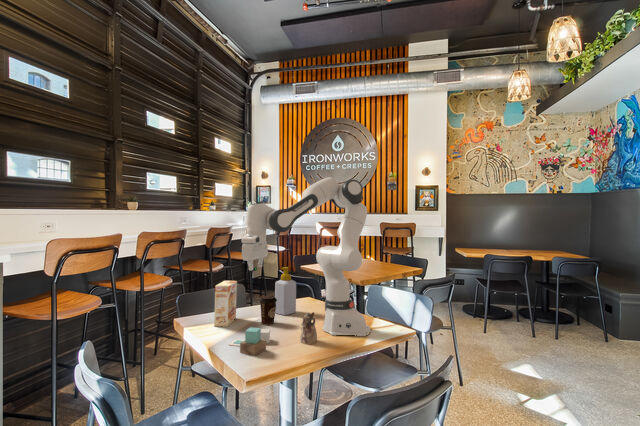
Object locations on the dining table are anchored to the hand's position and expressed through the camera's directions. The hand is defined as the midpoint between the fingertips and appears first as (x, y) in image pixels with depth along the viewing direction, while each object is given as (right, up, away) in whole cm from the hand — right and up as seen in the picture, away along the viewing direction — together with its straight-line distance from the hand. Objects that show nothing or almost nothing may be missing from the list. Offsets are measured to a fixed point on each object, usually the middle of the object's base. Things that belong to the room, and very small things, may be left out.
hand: (255, 268), depth 151 cm
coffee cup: (+3, -30, +15) cm, 33 cm away
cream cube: (+6, -29, -10) cm, 31 cm away
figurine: (+24, -29, -10) cm, 39 cm away
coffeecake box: (-18, -30, +16) cm, 38 cm away
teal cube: (+3, -25, -21) cm, 32 cm away
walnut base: (+3, -29, -21) cm, 36 cm away
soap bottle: (+10, -30, +34) cm, 47 cm away
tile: (-4, -29, -13) cm, 32 cm away
